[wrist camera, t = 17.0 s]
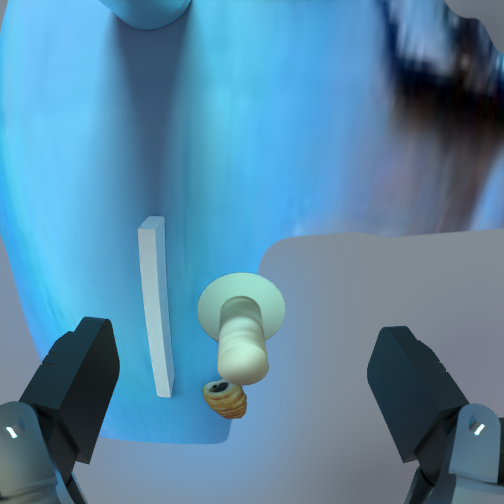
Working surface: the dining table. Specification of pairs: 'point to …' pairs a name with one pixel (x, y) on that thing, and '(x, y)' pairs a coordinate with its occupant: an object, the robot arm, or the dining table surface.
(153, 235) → the wall
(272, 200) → the dining table surface
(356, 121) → the dining table surface
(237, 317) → the dome-topped cylinder
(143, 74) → the dining table surface
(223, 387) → the pastry
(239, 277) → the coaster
